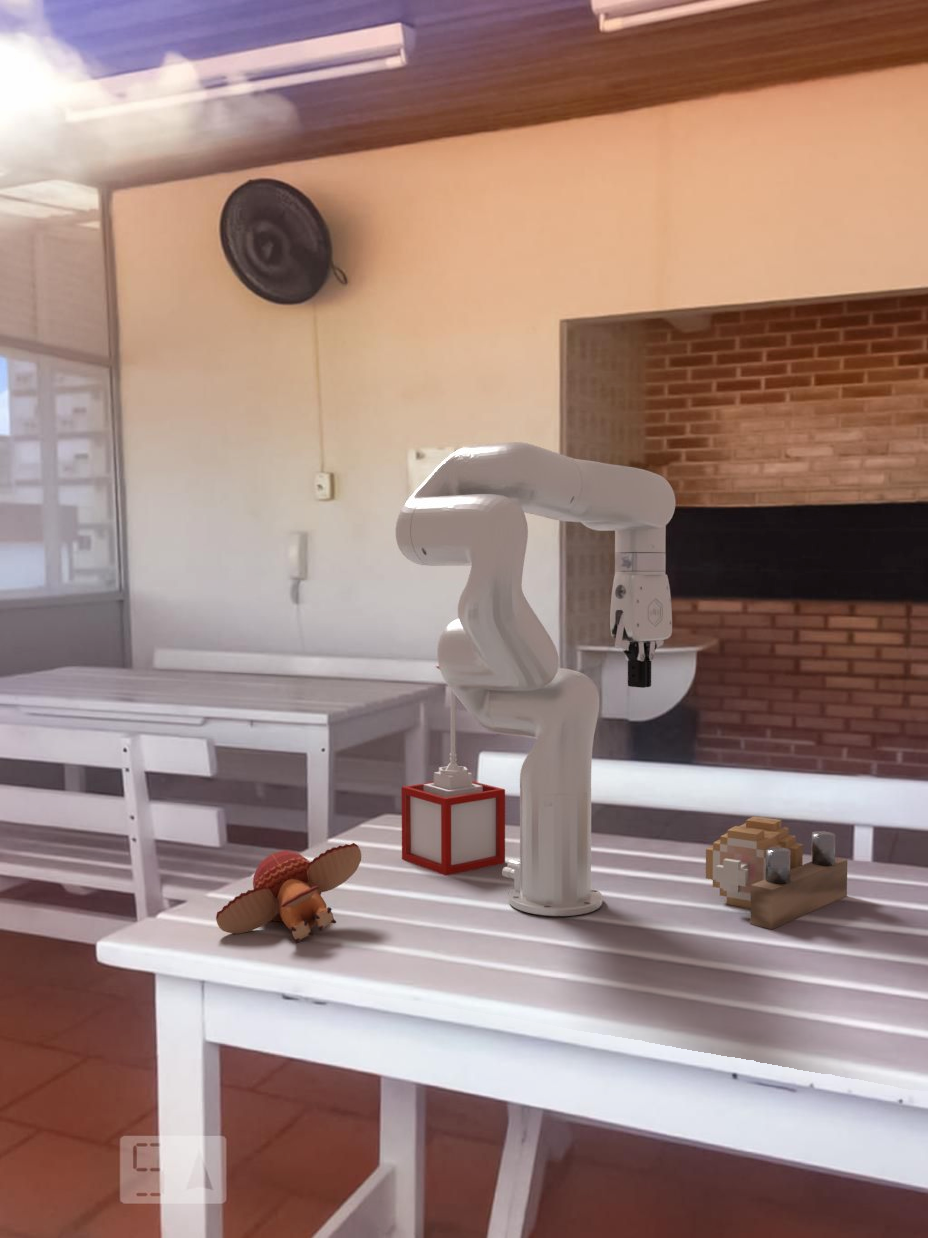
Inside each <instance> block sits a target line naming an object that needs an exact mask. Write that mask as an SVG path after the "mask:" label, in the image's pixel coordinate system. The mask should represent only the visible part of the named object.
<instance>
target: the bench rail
mask: <svg viewBox="0 0 928 1238" xmlns="http://www.w3.org/2000/svg"><path fill="white" fill-rule="evenodd" d="M847 896H848V859H846V858H841V857H837V856H836V833H834V832H831V831H825V830H824V831H823V830H818V831H812V832H811V861H809V862H806V863H804V864H802V865H801V866H799V867H796V868H793V869H791V870H790V850H789V849H787V848H782V847H769V848H766V879H765V880H762V881H760V882H757V883H755V884H752V885H751V908H750V921H749V922H750V925H753V926H757V927H761V928H764V929H768V930H774V929H776V928H779V927H780V926H783V925H785V924H787V923H789V922H792V921H794V920H796V919H798V918H801V917H803V916H805V915H807V914H810V913H812V912H813V911H816V910H819V909H821V908H822V907H824V906H825V907H826V906H827V905H829V904H832V903H834V902H836V901H838V900H840V899H842V898H844V897H847Z"/></svg>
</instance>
